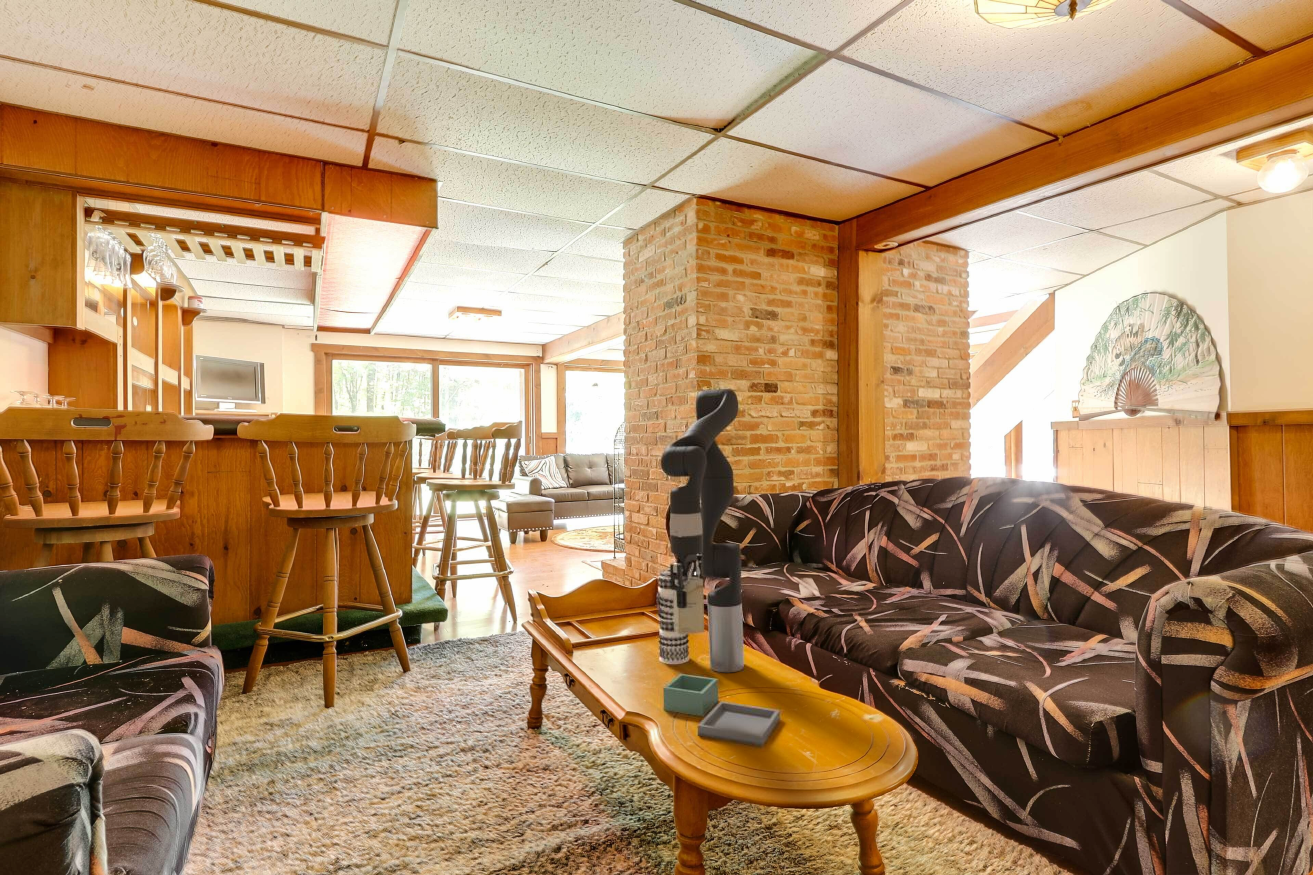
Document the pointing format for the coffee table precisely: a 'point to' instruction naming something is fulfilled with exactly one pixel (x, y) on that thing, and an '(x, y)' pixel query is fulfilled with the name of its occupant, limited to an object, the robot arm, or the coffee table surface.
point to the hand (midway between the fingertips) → (688, 603)
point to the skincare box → (690, 609)
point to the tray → (739, 723)
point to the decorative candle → (669, 625)
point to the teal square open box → (691, 694)
